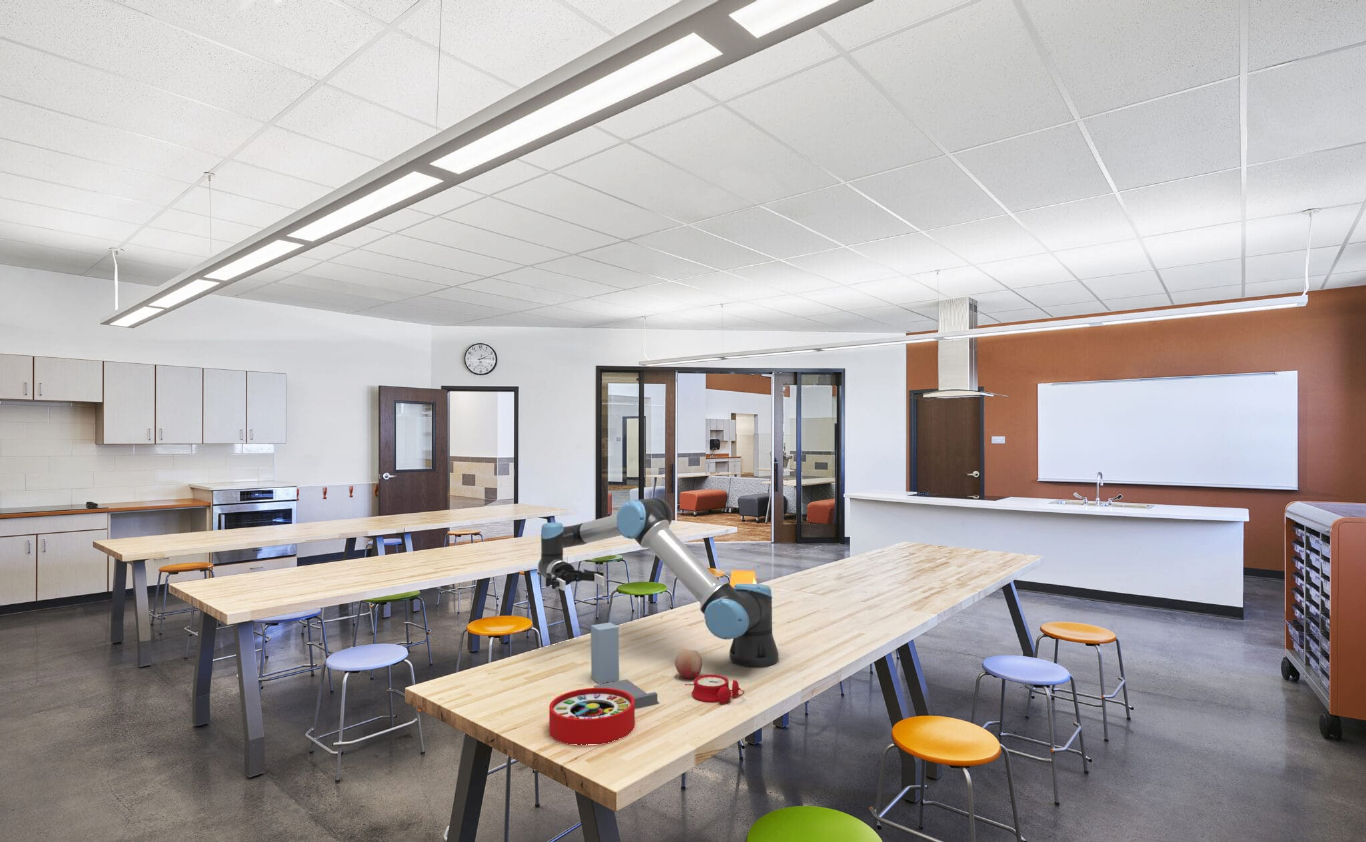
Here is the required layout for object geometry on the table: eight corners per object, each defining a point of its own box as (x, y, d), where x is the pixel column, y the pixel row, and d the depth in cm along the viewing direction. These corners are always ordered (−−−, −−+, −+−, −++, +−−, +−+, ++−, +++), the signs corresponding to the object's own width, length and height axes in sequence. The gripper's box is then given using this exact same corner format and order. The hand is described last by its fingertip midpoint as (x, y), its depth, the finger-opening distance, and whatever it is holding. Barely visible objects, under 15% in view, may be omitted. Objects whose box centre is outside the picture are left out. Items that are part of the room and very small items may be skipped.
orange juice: (753, 628, 238) (751, 573, 239) (729, 626, 241) (728, 571, 242) (758, 623, 246) (757, 569, 246) (735, 621, 249) (734, 568, 250)
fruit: (705, 673, 191) (705, 645, 192) (698, 683, 184) (698, 653, 184) (679, 671, 193) (678, 643, 194) (671, 680, 186) (670, 652, 186)
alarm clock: (701, 672, 182) (747, 668, 174) (705, 695, 181) (752, 693, 173) (680, 683, 174) (728, 680, 166) (685, 708, 172) (733, 706, 165)
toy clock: (651, 696, 159) (598, 727, 142) (651, 721, 158) (598, 754, 141) (587, 682, 169) (530, 709, 152) (587, 705, 169) (531, 735, 152)
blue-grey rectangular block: (591, 678, 189) (590, 625, 189) (610, 674, 192) (610, 622, 192) (599, 684, 183) (598, 630, 184) (619, 680, 186) (618, 627, 187)
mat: (593, 686, 182) (593, 677, 182) (626, 680, 186) (626, 671, 187) (623, 711, 164) (623, 701, 164) (659, 703, 169) (659, 693, 169)
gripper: (594, 580, 227) (620, 591, 209) (525, 587, 215) (545, 600, 197) (594, 558, 228) (620, 567, 209) (525, 564, 216) (545, 575, 197)
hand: (584, 583), depth 203 cm, fingers open, 12 cm apart
